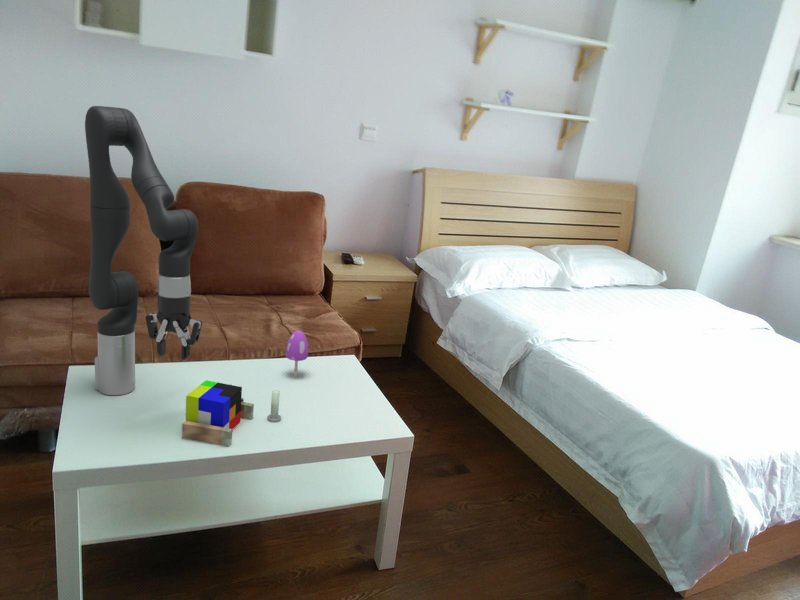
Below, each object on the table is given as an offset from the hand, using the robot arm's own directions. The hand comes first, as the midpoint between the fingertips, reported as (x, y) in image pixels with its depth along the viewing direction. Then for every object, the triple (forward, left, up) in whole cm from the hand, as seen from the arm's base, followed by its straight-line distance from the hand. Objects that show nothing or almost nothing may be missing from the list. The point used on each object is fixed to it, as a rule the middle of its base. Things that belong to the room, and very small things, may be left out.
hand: (173, 356), depth 156 cm
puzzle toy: (+11, 0, -18) cm, 21 cm away
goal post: (+24, +9, -17) cm, 31 cm away
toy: (+21, +38, -18) cm, 47 cm away
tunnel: (+13, +3, -17) cm, 22 cm away
